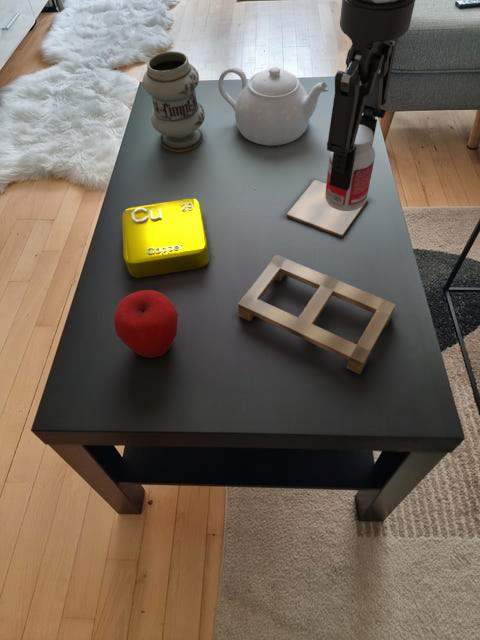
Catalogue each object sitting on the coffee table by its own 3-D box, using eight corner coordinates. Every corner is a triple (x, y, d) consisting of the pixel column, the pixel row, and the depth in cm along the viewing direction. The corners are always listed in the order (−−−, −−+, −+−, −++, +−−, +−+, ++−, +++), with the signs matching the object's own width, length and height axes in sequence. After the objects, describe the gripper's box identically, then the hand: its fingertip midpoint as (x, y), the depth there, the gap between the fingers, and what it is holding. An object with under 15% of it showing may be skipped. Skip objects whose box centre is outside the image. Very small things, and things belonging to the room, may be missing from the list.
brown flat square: (368, 200, 96) (368, 198, 96) (342, 237, 91) (342, 235, 90) (314, 181, 100) (314, 179, 100) (286, 216, 95) (286, 214, 94)
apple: (191, 358, 77) (181, 318, 68) (133, 378, 75) (115, 340, 66) (174, 312, 82) (163, 270, 74) (120, 330, 81) (101, 289, 72)
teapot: (289, 97, 119) (291, 39, 108) (325, 136, 109) (331, 76, 98) (220, 117, 116) (214, 60, 105) (251, 159, 106) (248, 100, 95)
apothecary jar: (152, 129, 115) (135, 51, 100) (202, 120, 116) (192, 41, 101) (159, 159, 108) (141, 80, 93) (211, 149, 109) (202, 69, 94)
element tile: (129, 280, 87) (122, 262, 83) (127, 224, 96) (120, 205, 92) (210, 267, 88) (208, 249, 84) (201, 212, 97) (198, 193, 93)
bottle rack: (391, 317, 79) (396, 304, 77) (359, 374, 73) (363, 363, 71) (276, 267, 87) (276, 254, 84) (239, 316, 81) (237, 303, 78)
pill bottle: (366, 187, 74) (380, 121, 65) (365, 214, 70) (379, 149, 61) (326, 184, 75) (333, 119, 66) (323, 211, 71) (330, 146, 62)
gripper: (381, -49, 56) (353, 130, 74) (305, 19, 47) (295, 203, 65) (445, -40, 53) (399, 143, 72) (378, 35, 44) (345, 222, 63)
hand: (349, 172), depth 69 cm, fingers closed on pill bottle, 6 cm apart
